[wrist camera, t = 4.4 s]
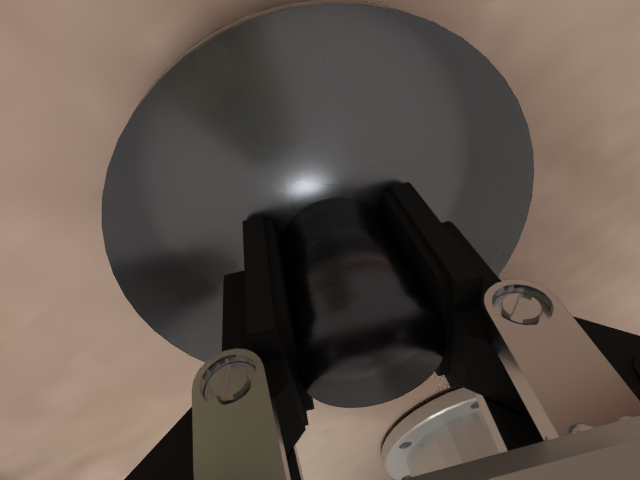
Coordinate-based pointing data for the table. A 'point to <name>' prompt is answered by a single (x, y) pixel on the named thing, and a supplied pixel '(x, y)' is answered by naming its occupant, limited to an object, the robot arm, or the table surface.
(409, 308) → the lid
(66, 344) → the table surface
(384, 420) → the table surface
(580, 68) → the table surface
